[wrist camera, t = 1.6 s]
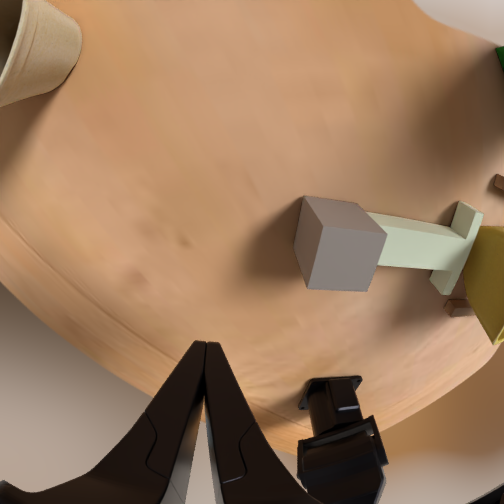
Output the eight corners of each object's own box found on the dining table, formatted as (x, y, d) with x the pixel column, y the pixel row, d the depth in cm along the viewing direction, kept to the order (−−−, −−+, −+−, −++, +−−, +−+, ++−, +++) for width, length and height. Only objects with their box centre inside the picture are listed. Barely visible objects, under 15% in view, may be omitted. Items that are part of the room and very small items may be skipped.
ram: (437, 280, 23) (464, 312, 19) (287, 271, 22) (299, 314, 17) (467, 203, 19) (503, 227, 15) (308, 167, 18) (331, 189, 14)
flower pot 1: (-2, 54, 11) (-75, 59, 3) (83, -23, 10) (17, -59, 2) (29, 137, 15) (-51, 169, 8) (122, 61, 14) (45, 43, 6)
